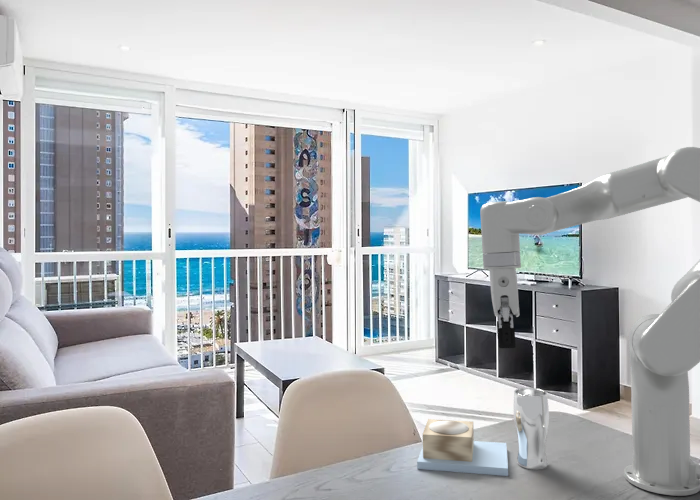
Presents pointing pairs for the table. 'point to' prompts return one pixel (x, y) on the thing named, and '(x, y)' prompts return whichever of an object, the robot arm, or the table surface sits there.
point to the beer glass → (531, 427)
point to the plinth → (448, 440)
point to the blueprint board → (473, 460)
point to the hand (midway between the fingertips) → (506, 343)
